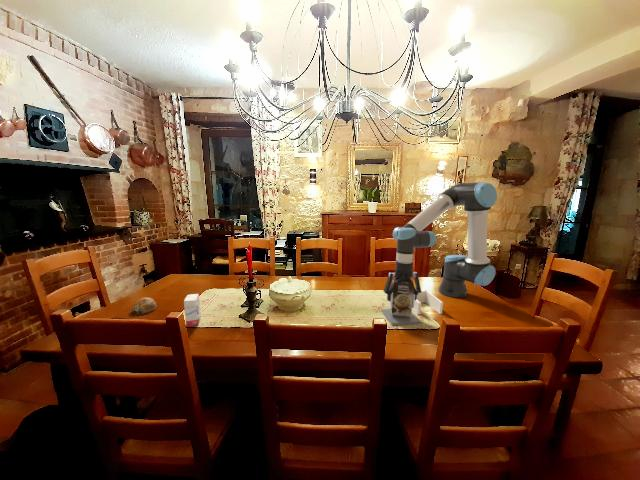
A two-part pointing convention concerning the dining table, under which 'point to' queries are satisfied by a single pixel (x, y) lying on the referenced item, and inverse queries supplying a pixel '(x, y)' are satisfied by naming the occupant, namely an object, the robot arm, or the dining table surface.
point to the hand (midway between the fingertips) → (401, 306)
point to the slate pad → (400, 318)
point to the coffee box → (402, 298)
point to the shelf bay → (429, 299)
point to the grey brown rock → (144, 305)
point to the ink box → (192, 309)
